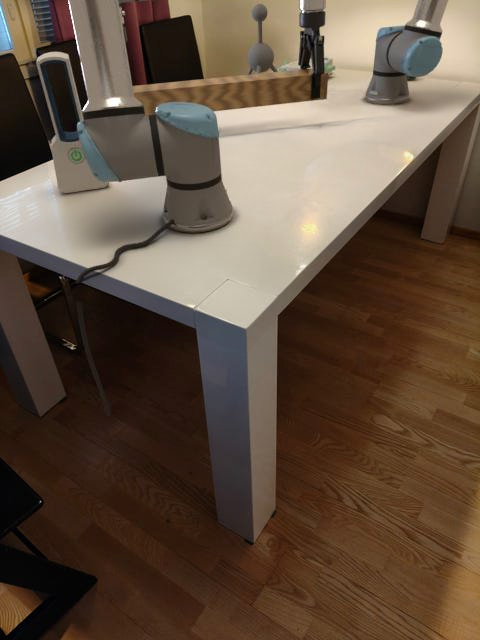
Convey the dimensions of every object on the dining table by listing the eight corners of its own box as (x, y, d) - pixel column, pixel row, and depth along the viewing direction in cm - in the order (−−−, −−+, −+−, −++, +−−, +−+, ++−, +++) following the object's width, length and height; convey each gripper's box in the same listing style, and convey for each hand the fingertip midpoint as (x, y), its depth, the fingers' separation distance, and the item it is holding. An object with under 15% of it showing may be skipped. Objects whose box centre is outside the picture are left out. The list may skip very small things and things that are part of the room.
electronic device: (59, 194, 121) (20, 60, 103) (60, 183, 127) (23, 54, 108) (110, 187, 123) (80, 54, 105) (108, 176, 129) (80, 48, 111)
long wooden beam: (114, 122, 141) (108, 95, 137) (113, 114, 148) (108, 88, 144) (326, 99, 152) (328, 73, 147) (317, 92, 159) (318, 67, 154)
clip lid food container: (301, 54, 217) (341, 57, 207) (300, 70, 221) (340, 74, 211) (269, 65, 201) (312, 69, 191) (269, 82, 205) (311, 87, 195)
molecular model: (306, 97, 183) (309, 2, 165) (252, 105, 177) (249, 8, 159) (279, 85, 201) (279, -2, 182) (229, 92, 195) (224, 3, 177)
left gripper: (127, 30, 123) (142, 122, 137) (123, 21, 140) (137, 104, 154) (97, 33, 122) (115, 126, 136) (96, 23, 139) (113, 107, 153)
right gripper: (339, 13, 133) (334, 101, 147) (311, 6, 149) (309, 86, 163) (313, 15, 131) (311, 104, 145) (288, 8, 148) (287, 88, 162)
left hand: (127, 114), depth 145 cm, fingers closed on long wooden beam, 9 cm apart
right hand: (310, 94), depth 154 cm, fingers closed on long wooden beam, 9 cm apart
